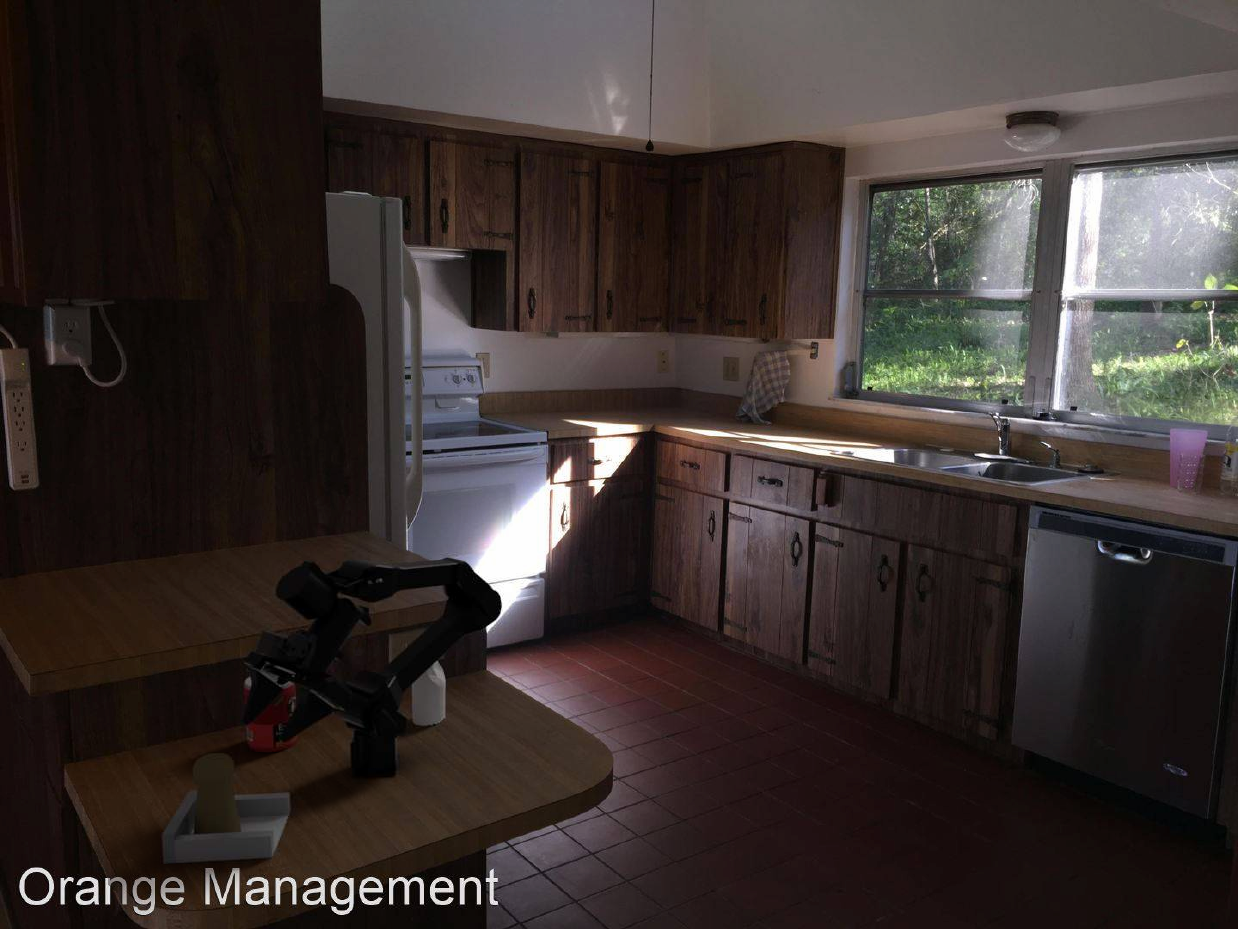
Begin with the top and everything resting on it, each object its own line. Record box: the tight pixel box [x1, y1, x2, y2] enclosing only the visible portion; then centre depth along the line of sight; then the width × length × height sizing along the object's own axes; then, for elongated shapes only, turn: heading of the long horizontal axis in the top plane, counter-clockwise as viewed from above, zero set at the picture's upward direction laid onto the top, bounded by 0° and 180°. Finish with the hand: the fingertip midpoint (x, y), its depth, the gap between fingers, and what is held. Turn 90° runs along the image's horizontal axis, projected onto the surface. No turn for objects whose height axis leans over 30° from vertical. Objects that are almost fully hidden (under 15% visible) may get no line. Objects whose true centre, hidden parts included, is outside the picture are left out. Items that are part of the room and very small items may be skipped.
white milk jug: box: [411, 660, 447, 727], centre depth 175 cm, size 6×12×6 cm
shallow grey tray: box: [161, 789, 291, 865], centre depth 136 cm, size 14×12×4 cm
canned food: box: [243, 676, 298, 753], centre depth 165 cm, size 8×8×11 cm
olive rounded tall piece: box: [192, 752, 241, 834], centre depth 136 cm, size 6×6×11 cm
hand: (262, 732), depth 140 cm, fingers open, 9 cm apart
